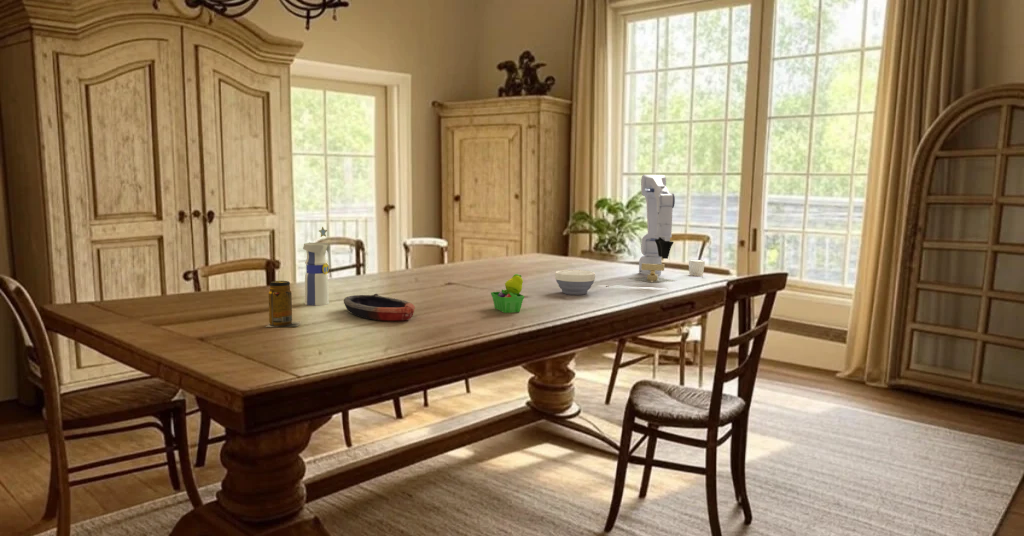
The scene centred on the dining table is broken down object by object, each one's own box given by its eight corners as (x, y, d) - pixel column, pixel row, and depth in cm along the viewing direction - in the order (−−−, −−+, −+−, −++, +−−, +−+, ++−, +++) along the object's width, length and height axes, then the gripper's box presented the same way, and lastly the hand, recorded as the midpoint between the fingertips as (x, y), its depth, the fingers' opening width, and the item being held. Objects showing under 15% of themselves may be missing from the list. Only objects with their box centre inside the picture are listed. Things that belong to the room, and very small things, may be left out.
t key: (640, 279, 290) (641, 264, 290) (641, 278, 294) (642, 263, 293) (663, 280, 288) (664, 265, 288) (663, 279, 292) (664, 263, 291)
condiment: (271, 322, 200) (270, 279, 199) (302, 322, 201) (301, 279, 199) (264, 327, 193) (263, 283, 191) (297, 327, 194) (296, 283, 192)
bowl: (581, 297, 250) (581, 276, 249) (546, 293, 258) (547, 272, 257) (602, 293, 261) (602, 272, 260) (568, 288, 270) (569, 268, 269)
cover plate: (627, 280, 294) (627, 278, 294) (653, 278, 301) (653, 276, 301) (651, 285, 282) (651, 282, 282) (677, 283, 289) (677, 280, 289)
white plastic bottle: (335, 302, 234) (334, 225, 231) (322, 306, 226) (320, 227, 222) (313, 300, 236) (312, 224, 233) (299, 304, 228) (297, 226, 225)
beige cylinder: (687, 277, 309) (688, 260, 308) (688, 275, 316) (689, 259, 315) (703, 277, 307) (704, 261, 306) (704, 275, 314) (705, 260, 313)
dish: (374, 306, 229) (374, 290, 228) (430, 321, 206) (430, 304, 206) (330, 311, 218) (330, 295, 218) (384, 327, 196) (384, 309, 195)
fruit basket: (489, 307, 228) (489, 272, 227) (515, 306, 231) (516, 271, 230) (501, 314, 217) (502, 277, 216) (528, 312, 220) (529, 276, 219)
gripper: (651, 222, 294) (650, 255, 296) (657, 224, 280) (656, 259, 282) (668, 222, 294) (667, 255, 296) (676, 225, 280) (674, 259, 282)
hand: (663, 257), depth 289 cm, fingers open, 7 cm apart
